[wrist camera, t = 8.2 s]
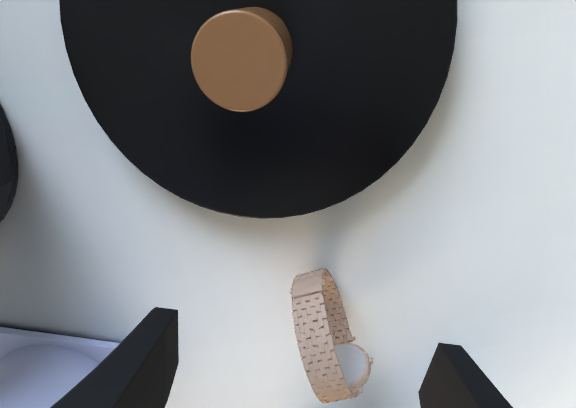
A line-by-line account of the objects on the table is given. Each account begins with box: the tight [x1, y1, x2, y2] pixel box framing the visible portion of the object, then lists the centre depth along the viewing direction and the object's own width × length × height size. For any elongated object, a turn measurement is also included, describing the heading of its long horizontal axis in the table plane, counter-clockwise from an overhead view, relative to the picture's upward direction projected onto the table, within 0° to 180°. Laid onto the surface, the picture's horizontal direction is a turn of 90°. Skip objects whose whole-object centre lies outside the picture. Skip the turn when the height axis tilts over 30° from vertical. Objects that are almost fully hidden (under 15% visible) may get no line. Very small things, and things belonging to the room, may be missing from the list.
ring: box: [290, 269, 373, 403], centre depth 16 cm, size 3×5×5 cm, turn 20°
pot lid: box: [59, 0, 457, 218], centre depth 12 cm, size 12×12×4 cm
